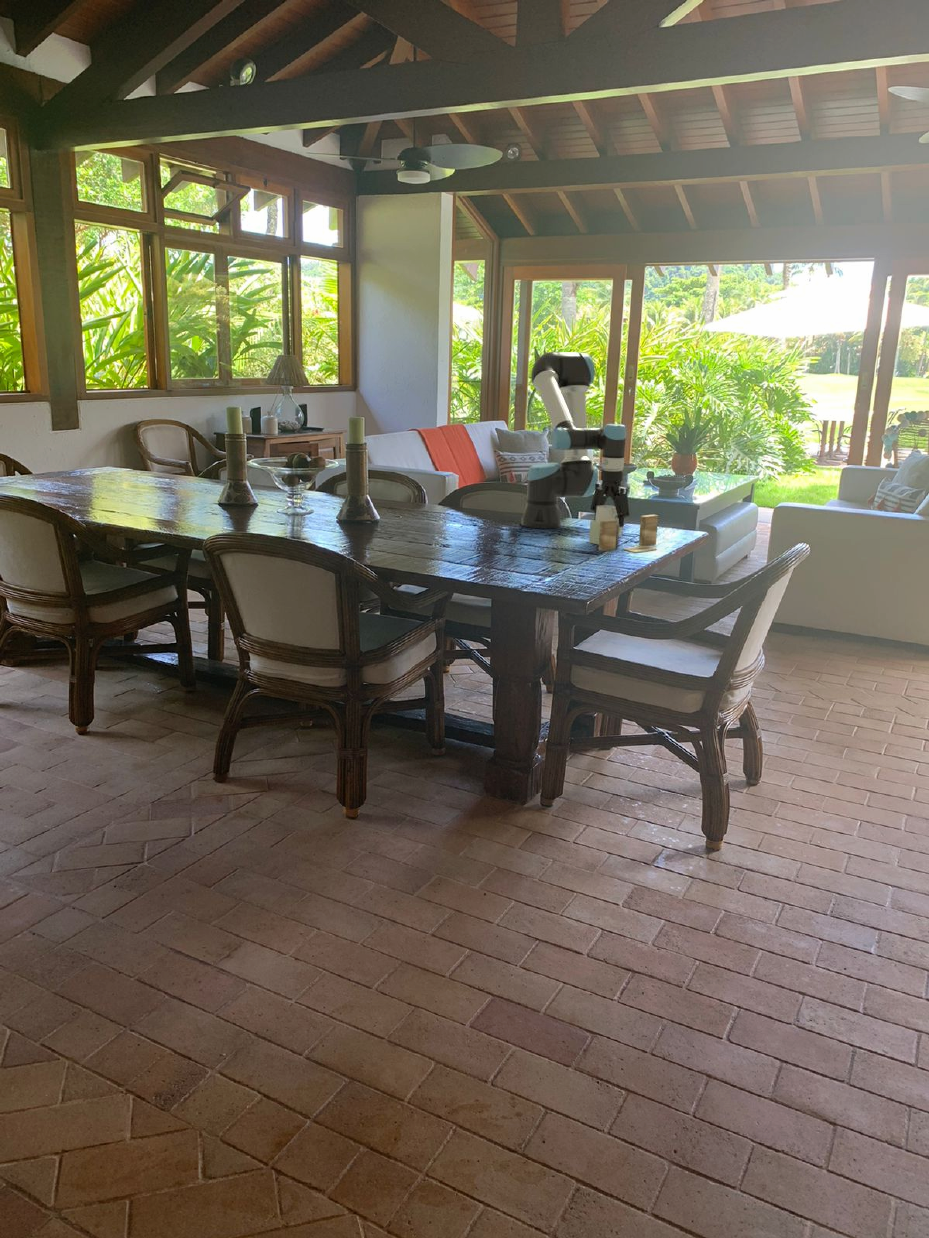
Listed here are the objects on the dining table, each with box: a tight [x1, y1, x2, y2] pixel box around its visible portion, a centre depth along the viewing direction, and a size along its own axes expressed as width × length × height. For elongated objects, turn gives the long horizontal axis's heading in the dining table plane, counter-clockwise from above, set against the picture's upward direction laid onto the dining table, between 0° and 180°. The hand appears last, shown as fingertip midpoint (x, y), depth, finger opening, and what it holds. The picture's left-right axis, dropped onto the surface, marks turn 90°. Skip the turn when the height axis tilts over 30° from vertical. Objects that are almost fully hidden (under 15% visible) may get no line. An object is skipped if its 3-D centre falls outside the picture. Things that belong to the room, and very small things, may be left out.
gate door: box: [588, 519, 620, 549], centre depth 319 cm, size 12×1×8 cm, turn 43°
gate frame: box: [598, 514, 659, 554], centre depth 315 cm, size 10×25×10 cm, turn 125°
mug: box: [596, 504, 625, 522], centre depth 327 cm, size 10×7×12 cm, turn 73°
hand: (608, 533), depth 328 cm, fingers open, 10 cm apart
